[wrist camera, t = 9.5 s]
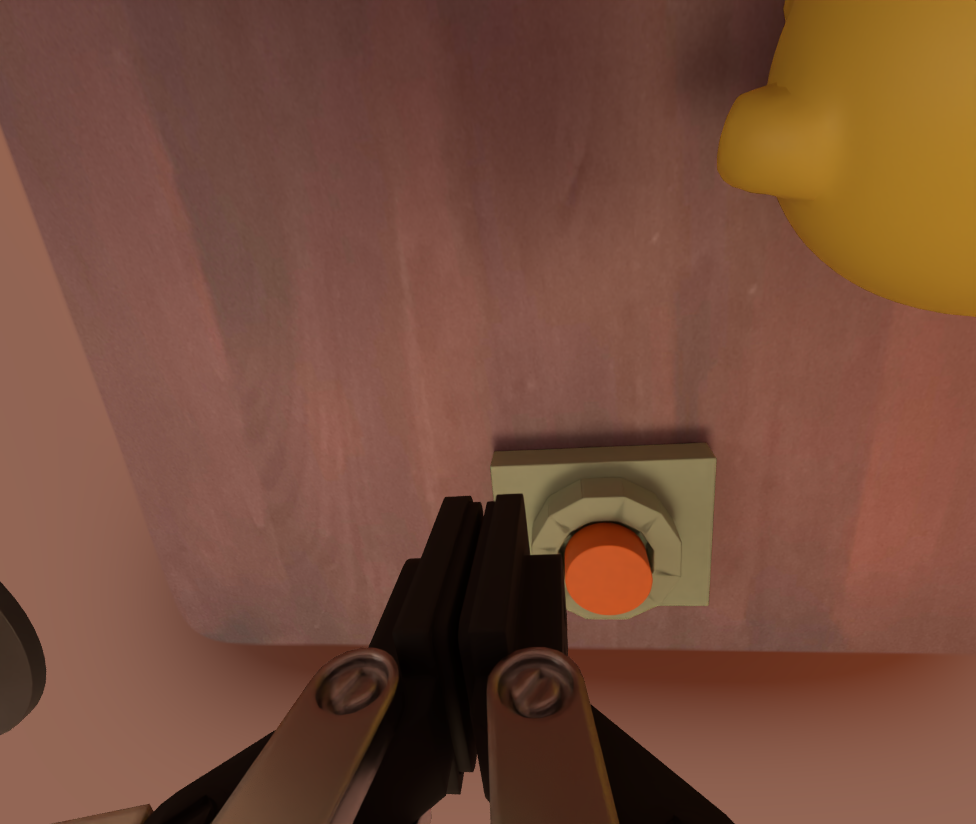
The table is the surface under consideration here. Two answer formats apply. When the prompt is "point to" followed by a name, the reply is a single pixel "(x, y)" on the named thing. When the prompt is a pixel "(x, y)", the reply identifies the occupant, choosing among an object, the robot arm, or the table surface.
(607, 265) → the table surface
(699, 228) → the table surface
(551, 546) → the control block
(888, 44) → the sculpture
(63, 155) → the table surface
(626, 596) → the button
